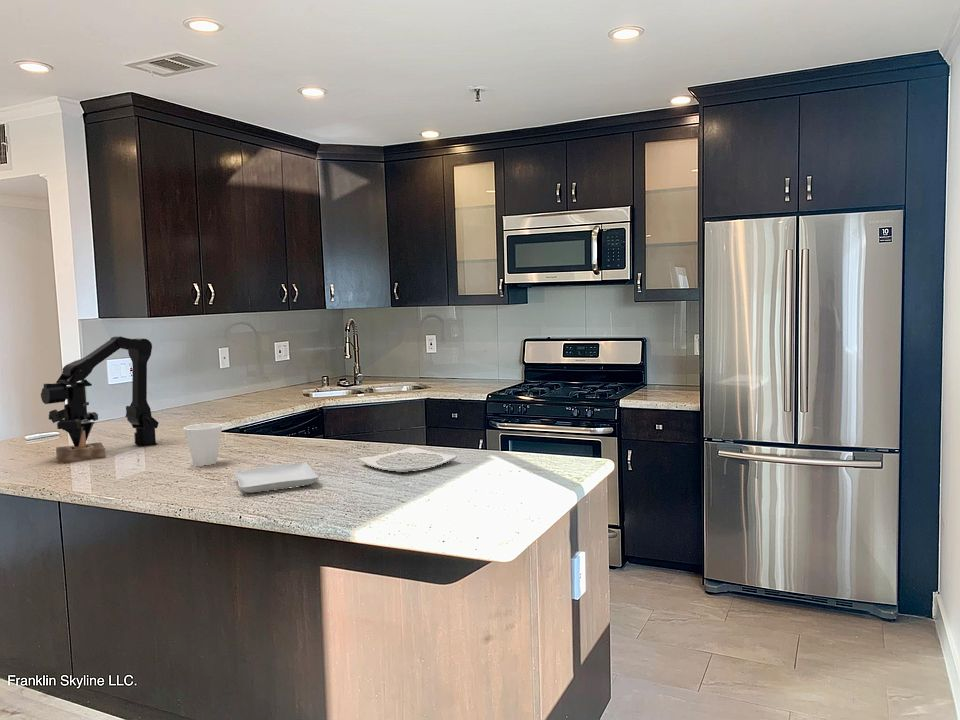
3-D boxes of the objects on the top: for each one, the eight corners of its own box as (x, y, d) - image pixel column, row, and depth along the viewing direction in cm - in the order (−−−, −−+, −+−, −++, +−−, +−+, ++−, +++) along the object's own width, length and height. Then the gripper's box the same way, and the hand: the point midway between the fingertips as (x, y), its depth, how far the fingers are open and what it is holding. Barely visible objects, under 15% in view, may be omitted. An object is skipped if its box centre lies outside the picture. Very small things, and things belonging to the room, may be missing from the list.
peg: (86, 455, 248) (84, 430, 248) (87, 457, 245) (85, 431, 245) (74, 456, 247) (72, 431, 246) (75, 458, 244) (73, 432, 243)
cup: (232, 460, 234) (230, 423, 233) (207, 469, 222) (205, 430, 221) (203, 459, 237) (200, 422, 236) (177, 467, 226) (174, 428, 225)
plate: (413, 453, 240) (413, 445, 239) (463, 464, 222) (463, 455, 222) (352, 466, 223) (352, 458, 222) (401, 479, 205) (401, 470, 205)
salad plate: (240, 498, 188) (239, 486, 188) (233, 481, 208) (232, 469, 207) (320, 488, 197) (320, 476, 196) (306, 472, 216) (306, 461, 216)
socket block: (101, 451, 256) (101, 441, 255) (105, 457, 244) (104, 447, 244) (56, 456, 248) (55, 446, 248) (58, 463, 236) (57, 453, 236)
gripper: (64, 397, 253) (67, 441, 254) (38, 405, 234) (42, 451, 235) (97, 396, 254) (100, 439, 255) (74, 403, 236) (78, 450, 237)
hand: (80, 445), depth 246 cm, fingers open, 5 cm apart
